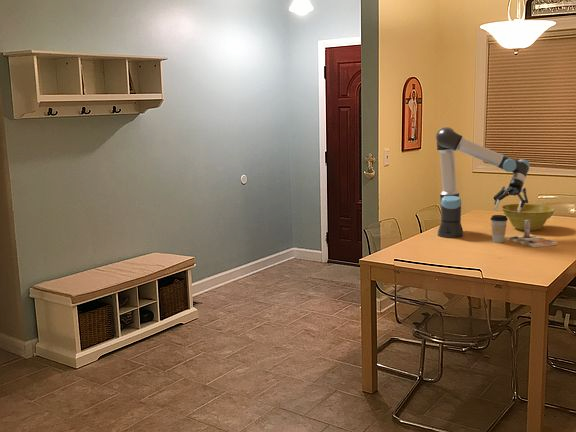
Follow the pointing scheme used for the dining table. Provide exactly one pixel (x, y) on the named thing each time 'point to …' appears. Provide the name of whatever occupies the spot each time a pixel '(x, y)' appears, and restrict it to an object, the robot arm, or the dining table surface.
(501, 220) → the coffee cup
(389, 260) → the dining table surface
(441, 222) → the robot arm
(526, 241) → the control board
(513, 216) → the planter bowl
